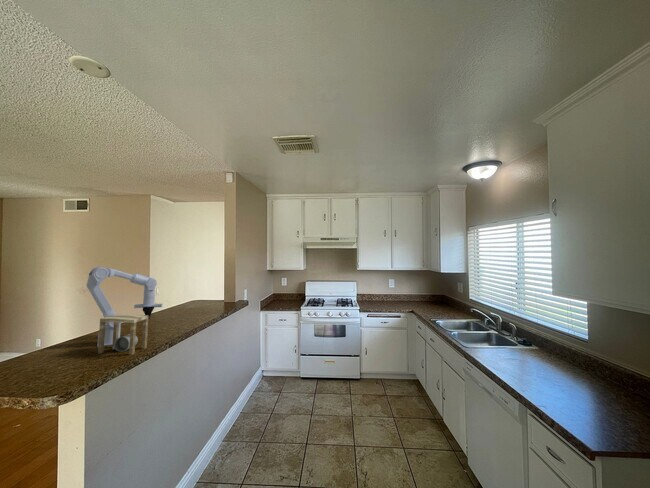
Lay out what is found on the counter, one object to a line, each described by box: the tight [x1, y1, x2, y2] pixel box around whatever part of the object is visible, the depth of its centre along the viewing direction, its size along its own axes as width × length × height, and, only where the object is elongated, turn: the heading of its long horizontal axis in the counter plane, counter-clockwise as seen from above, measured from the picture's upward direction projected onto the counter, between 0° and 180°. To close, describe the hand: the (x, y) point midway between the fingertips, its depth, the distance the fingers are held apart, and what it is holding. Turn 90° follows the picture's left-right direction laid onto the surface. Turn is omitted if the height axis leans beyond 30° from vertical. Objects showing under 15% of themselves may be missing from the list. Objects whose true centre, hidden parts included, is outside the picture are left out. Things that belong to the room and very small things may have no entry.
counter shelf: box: [97, 313, 149, 356], centre depth 134 cm, size 10×18×18 cm, turn 88°
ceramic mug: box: [111, 333, 139, 353], centre depth 136 cm, size 11×8×8 cm
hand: (147, 319), depth 158 cm, fingers closed
